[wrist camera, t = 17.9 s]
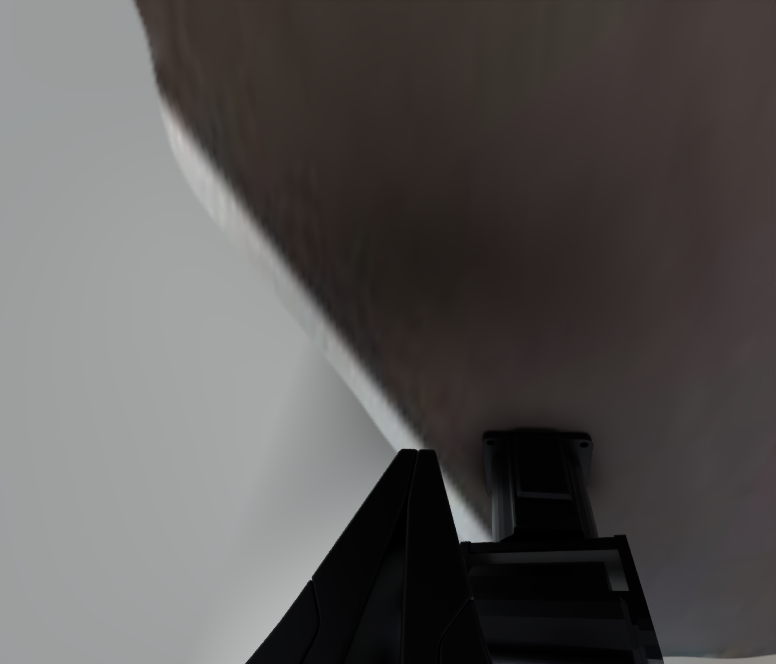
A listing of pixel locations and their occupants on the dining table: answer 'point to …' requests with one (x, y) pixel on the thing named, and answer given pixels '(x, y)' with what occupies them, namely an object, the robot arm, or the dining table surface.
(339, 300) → the dining table surface
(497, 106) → the dining table surface
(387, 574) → the robot arm
